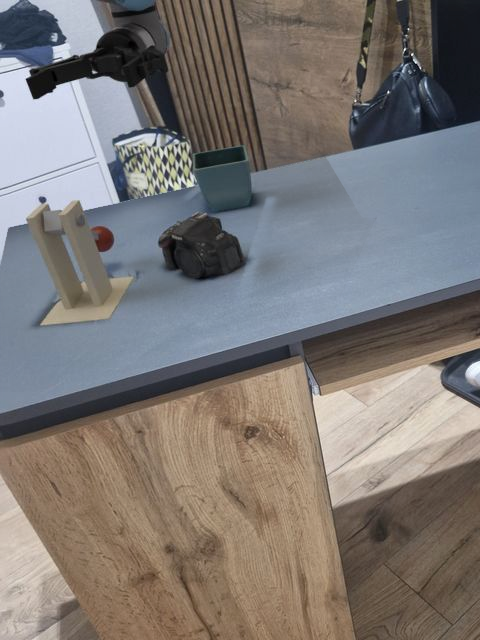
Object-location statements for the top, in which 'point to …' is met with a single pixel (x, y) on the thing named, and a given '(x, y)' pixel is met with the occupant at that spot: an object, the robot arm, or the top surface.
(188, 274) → the camera
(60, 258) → the stand
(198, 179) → the flower pot
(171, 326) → the top surface
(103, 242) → the lever
